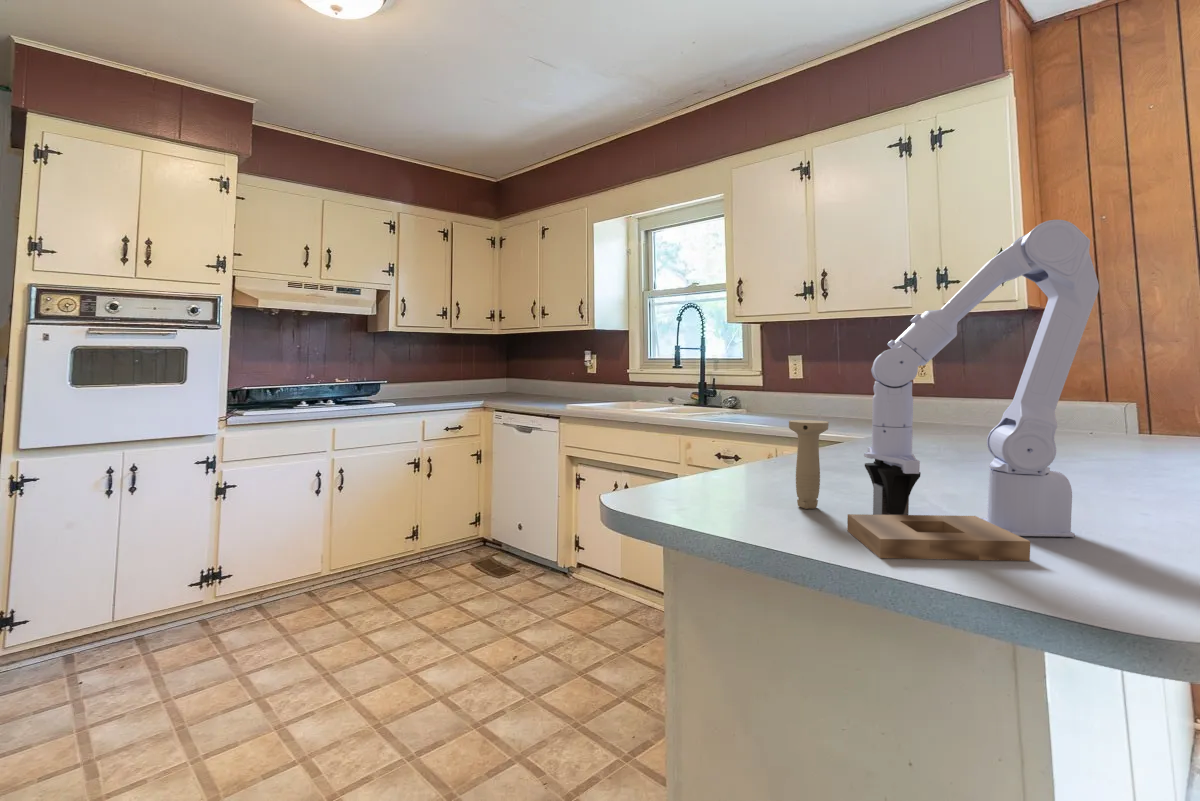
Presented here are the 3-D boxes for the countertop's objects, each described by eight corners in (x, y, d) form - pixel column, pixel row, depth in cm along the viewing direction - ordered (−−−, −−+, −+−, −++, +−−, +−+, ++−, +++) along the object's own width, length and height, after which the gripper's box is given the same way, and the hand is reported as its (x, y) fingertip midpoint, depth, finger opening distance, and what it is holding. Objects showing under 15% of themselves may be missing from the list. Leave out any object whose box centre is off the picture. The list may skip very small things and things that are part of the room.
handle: (824, 512, 94) (825, 423, 93) (785, 508, 98) (785, 421, 97) (829, 506, 98) (830, 421, 97) (791, 502, 102) (792, 419, 101)
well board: (974, 532, 82) (975, 515, 82) (1029, 560, 70) (1030, 541, 70) (847, 530, 84) (847, 514, 84) (880, 558, 72) (880, 538, 72)
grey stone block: (898, 516, 92) (899, 482, 91) (908, 522, 88) (909, 487, 88) (872, 516, 92) (873, 482, 92) (881, 521, 89) (882, 487, 88)
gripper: (849, 421, 97) (848, 499, 98) (884, 430, 82) (883, 522, 83) (892, 421, 96) (891, 499, 97) (935, 430, 82) (933, 523, 83)
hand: (890, 510), depth 90 cm, fingers closed on grey stone block, 3 cm apart
